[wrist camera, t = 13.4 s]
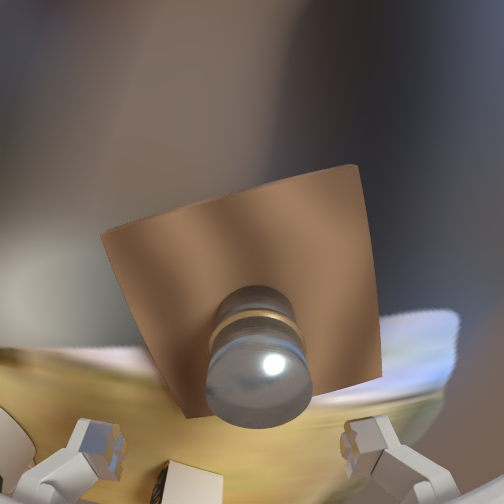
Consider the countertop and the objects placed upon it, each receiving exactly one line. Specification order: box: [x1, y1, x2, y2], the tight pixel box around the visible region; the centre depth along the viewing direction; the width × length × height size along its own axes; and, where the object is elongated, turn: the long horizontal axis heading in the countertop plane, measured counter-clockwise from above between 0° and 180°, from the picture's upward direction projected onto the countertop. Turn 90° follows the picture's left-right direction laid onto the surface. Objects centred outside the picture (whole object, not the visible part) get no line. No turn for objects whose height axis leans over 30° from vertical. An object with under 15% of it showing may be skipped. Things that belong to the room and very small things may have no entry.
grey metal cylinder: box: [205, 285, 313, 429], centre depth 17 cm, size 5×5×7 cm
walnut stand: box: [100, 164, 382, 419], centre depth 23 cm, size 16×16×4 cm
